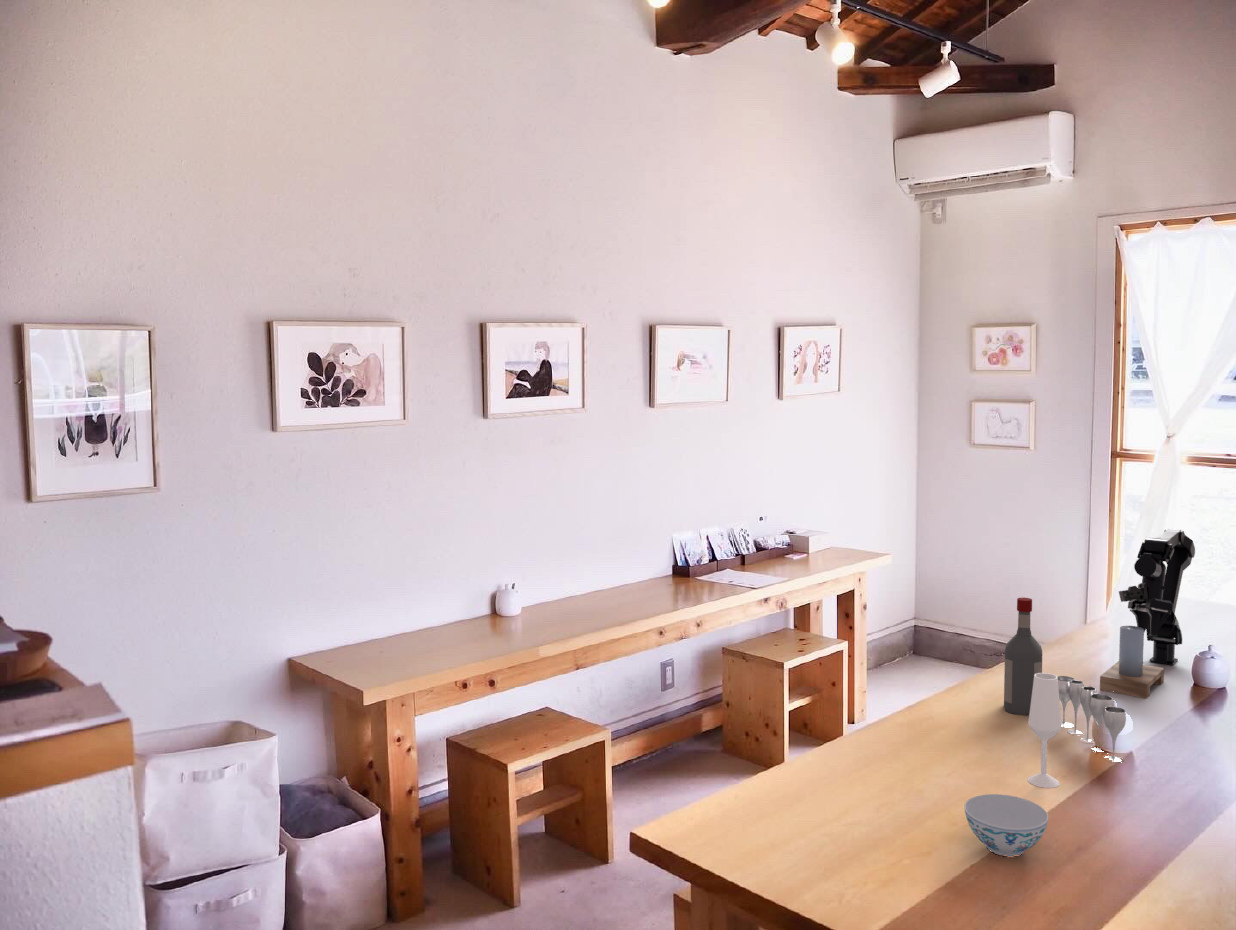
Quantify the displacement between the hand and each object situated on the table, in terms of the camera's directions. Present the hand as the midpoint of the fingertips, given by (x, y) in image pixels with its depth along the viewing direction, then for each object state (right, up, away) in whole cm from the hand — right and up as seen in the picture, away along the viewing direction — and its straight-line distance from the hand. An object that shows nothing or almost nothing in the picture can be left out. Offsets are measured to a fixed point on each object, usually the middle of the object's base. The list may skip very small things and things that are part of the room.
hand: (1146, 635), depth 295 cm
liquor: (-45, -16, -23) cm, 53 cm away
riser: (-7, -13, -6) cm, 16 cm away
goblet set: (-38, -18, -46) cm, 62 cm away
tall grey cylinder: (-9, -10, -8) cm, 15 cm away
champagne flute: (-58, -21, -69) cm, 93 cm away
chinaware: (-78, -25, -99) cm, 129 cm away
